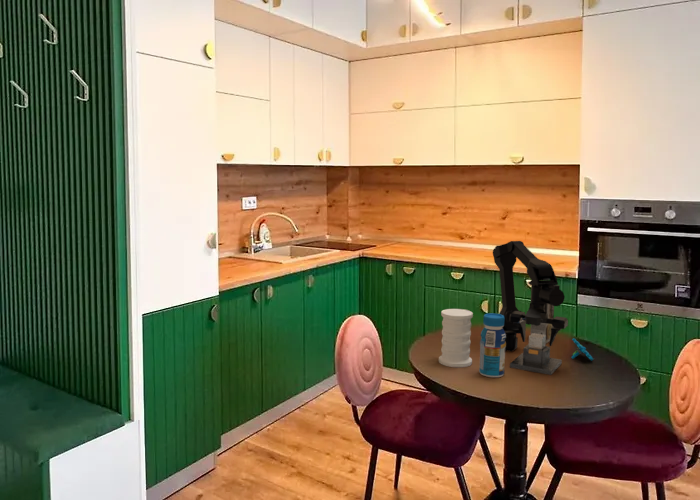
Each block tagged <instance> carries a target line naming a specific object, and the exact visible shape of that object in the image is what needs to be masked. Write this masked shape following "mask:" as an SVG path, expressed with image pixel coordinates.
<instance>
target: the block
mask: <svg viewBox="0 0 700 500" xmlns="http://www.w3.org/2000/svg"><path fill="white" fill-rule="evenodd" d="M528 344H529V345H528ZM528 344H527V345H528V348H529V349H535V350H541V351H543V350H544V349H545V346H546V345H547V343H546V335H543V334H536V333H532V334H531V333H530V335H528Z"/></svg>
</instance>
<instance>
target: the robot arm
mask: <svg viewBox="0 0 700 500" xmlns="http://www.w3.org/2000/svg"><path fill="white" fill-rule="evenodd" d="M492 256H493V261H494V264H495V266H496V267H497V269H498V270H499V279H500V280H499V282H500V293H501V310H500V312H499V313H498V314H501V315H503V316H504V318H505V320H504V326H503V327H502V328H503V329H504V331H505V334H506V338H505V342H506V347H505V352H514V351H515V350H516V349H518V338H519V337H518V336H517V334H520V337H521V340H522V342H524V343H525V342H526V326H527V325H530V326H531V325H535V326H539V325H540V324H541V323H547V324H552V326H553V327H552V328H551V337H550V341H549V347H551V346H553V343H554V341H555V339H556V337H557V335H558V333H559V332H560V331H561V330H565V328H567V327H568V326H569V320H568V318H567V317H565V316H554V319H551V318H548V314H547V311H548V304H550V305H553V306H554V307H558V306H561V305H562V304H563V303H564V301H565V293H564V292H563V290H562V289H560V287H561V286H560V285H559V283H558V277H557V276H556V273H555V271H554V268H553V266H552V265H551V264H550V262H548V261H546V260H543V259H540V258H538V257H537V256H536V255H535V254H534V253H533V252H532V251H531V250H530V249H529V248H528V247H527V246H526V245H525V244H524V242H523V241H522V240H510V241H508V242H507V243H503V244H501V245H495V247H494V248H493V250H492ZM517 260H519V261H520V262H521V263H522V265H524V267H525V268H526V273H527V275H528V277H529V278H530V281H528V285H530V286H531V287H530V288H531V289H530V303H529V307H528V309H527V311H526V312H525V311H522V310H519V309H518V307H517V303H516V294H515V293H516V292H515V281H514V279H515V278H514V267H515V264H516V262H517Z"/></svg>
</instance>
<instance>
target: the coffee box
mask: <svg viewBox="0 0 700 500" xmlns="http://www.w3.org/2000/svg"><path fill="white" fill-rule="evenodd" d="M547 314H548V318H551V319H554V318H555V306H553V305H550V304H548V311H547ZM552 327H553V326H552V324H547V323H541V324H540V325H539V326H535V325H531V324H530V335H531V334H532V333H536V334H543V335H546V344H548V343H550V337H551V328H552Z"/></svg>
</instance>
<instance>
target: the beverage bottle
mask: <svg viewBox="0 0 700 500" xmlns="http://www.w3.org/2000/svg"><path fill="white" fill-rule="evenodd" d="M504 320H505V318H504V316H503V315H501V314H499V313H492V312H491V313H485V314H484V315H483V321H482V322H483V326H484V327H483V328H482V330H481V332H480V338H481V339H480V340H479V346H480V347H479V368H478V369H479V370H478V371H479V373H480V375H482V376H484V377H487V378H500V377H503V376H504V375H505V362H506V361H505V360H506V351H505V347H506V342H505V338H506V334H505V331H504V329H503V328H502V327H503V326H504Z"/></svg>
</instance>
